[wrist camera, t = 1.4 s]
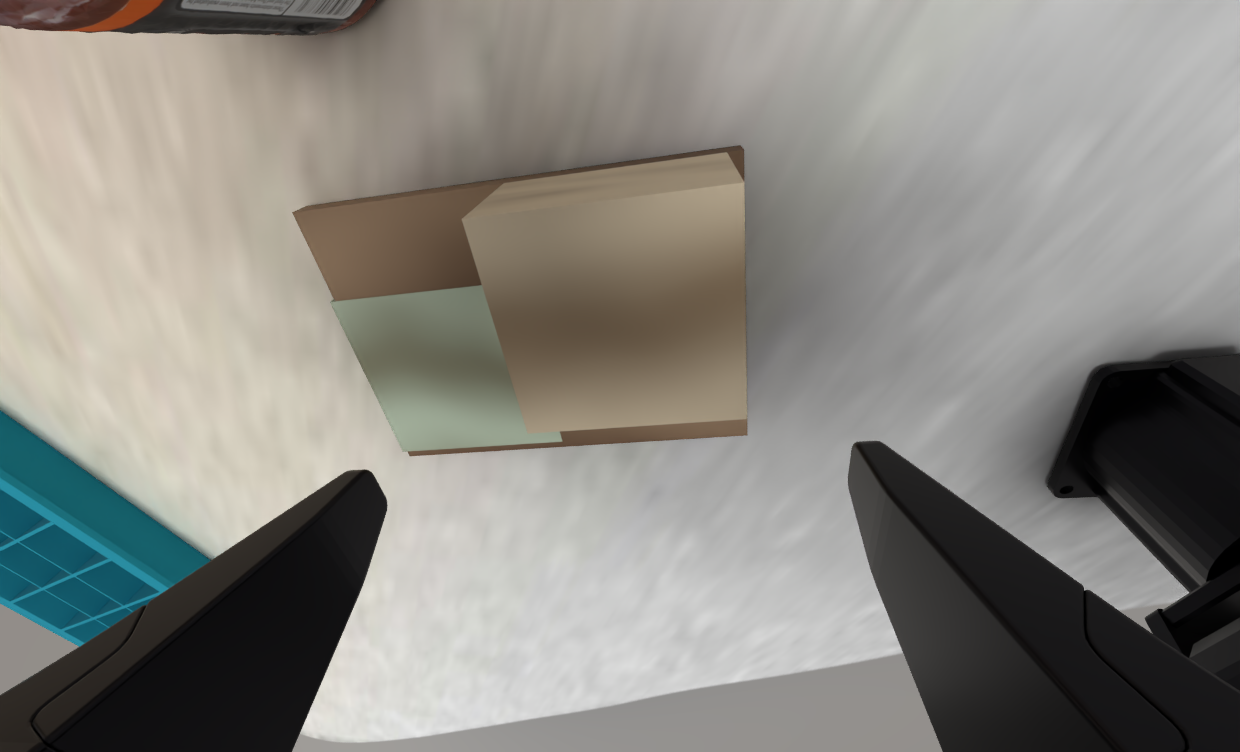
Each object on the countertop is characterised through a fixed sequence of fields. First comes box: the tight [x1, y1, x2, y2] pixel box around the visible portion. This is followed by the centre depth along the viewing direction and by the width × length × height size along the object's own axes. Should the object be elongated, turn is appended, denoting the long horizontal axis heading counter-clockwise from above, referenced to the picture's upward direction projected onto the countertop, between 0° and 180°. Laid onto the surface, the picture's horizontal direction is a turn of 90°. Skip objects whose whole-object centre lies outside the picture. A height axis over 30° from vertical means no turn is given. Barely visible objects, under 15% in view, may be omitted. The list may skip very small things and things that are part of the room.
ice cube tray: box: [0, 410, 211, 647], centre depth 28 cm, size 12×20×3 cm, turn 28°
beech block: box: [462, 152, 747, 434], centre depth 16 cm, size 7×7×4 cm
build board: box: [292, 145, 747, 456], centre depth 19 cm, size 11×15×1 cm
